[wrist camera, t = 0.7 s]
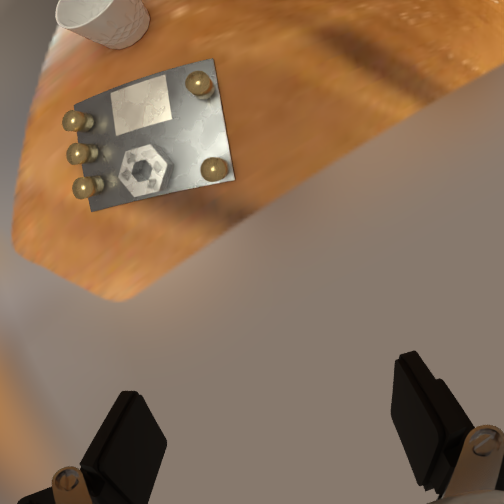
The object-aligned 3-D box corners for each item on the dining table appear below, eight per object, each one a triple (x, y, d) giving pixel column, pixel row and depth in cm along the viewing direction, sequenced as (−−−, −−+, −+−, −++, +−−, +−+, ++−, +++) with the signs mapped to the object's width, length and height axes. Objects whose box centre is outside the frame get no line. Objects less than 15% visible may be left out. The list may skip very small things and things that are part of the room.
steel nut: (124, 154, 31) (114, 155, 29) (170, 141, 31) (163, 140, 28) (132, 197, 33) (122, 200, 30) (178, 186, 32) (171, 188, 30)
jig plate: (76, 105, 30) (58, 101, 26) (213, 59, 28) (207, 47, 25) (93, 211, 34) (76, 217, 30) (235, 179, 32) (230, 182, 28)
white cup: (154, -5, 26) (123, -44, 16) (156, 43, 28) (120, 9, 18) (99, 14, 26) (59, -14, 17) (98, 62, 28) (52, 40, 19)
